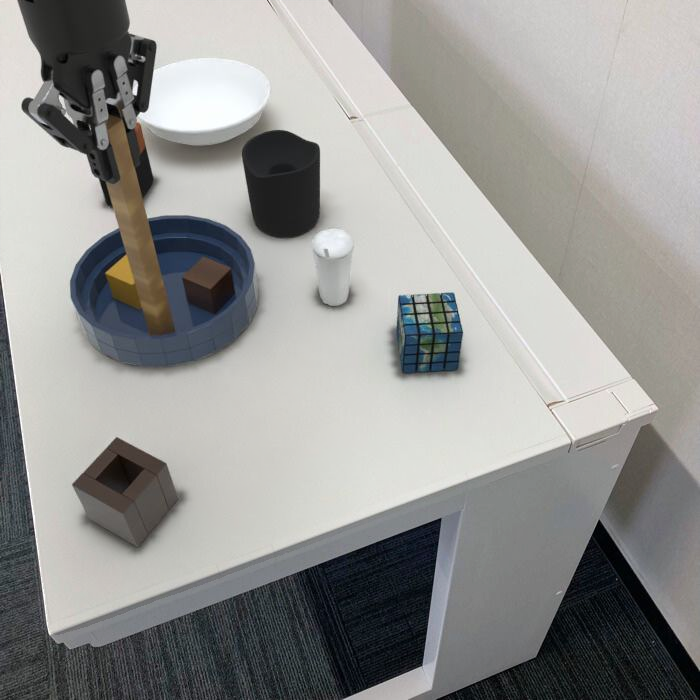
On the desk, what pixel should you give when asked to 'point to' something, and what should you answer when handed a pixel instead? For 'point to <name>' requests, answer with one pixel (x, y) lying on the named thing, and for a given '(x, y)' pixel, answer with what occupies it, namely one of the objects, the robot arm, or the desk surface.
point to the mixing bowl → (174, 261)
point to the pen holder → (282, 182)
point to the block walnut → (208, 285)
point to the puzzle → (428, 332)
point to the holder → (126, 491)
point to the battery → (141, 170)
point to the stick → (137, 234)
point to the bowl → (205, 100)
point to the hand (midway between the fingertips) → (118, 171)
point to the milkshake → (333, 264)
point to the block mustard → (123, 283)
